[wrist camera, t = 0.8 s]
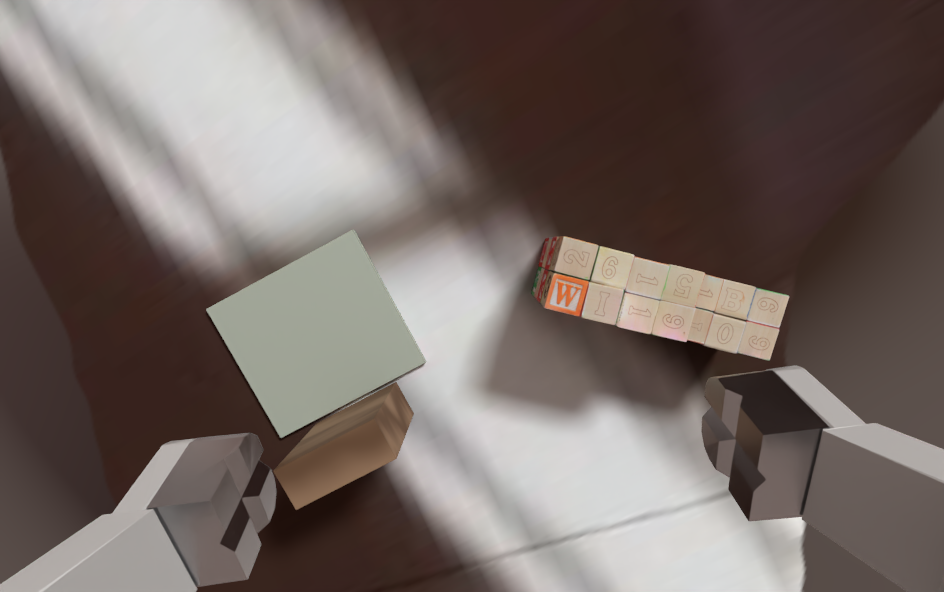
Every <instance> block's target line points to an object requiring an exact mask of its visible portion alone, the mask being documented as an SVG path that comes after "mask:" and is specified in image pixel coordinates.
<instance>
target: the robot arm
mask: <svg viewBox="0 0 944 592" xmlns="http://www.w3.org/2000/svg"><path fill="white" fill-rule="evenodd" d="M704 397H705V398H706V400H707V401H708V402H709V404H710V405H711V407H710V409H709V410H708V411H707V412H706V413H705V414H704V415H703V417H702V437H703V442H704V447H705V450H706V452H707V454H708V457H709V459H710V461H711V462H712V464H713V466H714V467H715V469H716V470H718V471H719V472H721V473H723V474H725V475H726V476H728V477H730V481H729V489H728V490H729V491H730V493H731V494H732V496H733V497H734V499H735V500H736V502H737V504H738V505H739V507H740V508H741V510H742V511H743V513H744V514H745V516H746V518H747V519H748V521H759V520H770V519H781V518H793V517H802V520H804V521H805V522H807V523H808V524H810V525H811V526H813V527H814V528H815V529H817V530H818V531H820V532H821V533H823V534H824V535H826V536H827V537H828V538H830V539H831V540H833V541H834V542H836V543H837V544H839V545H840V546H842V547H843V548H844V549H846V550H847V551H849V552H850V553H852V554H853V555H854V556H856V557H857V558H859V559H860V560H862V561H863V562H865V563H866V564H868V565H869V566H870V567H872V568H873V569H875V570H876V571H878V572H879V573H881V574H882V575H883V576H885V577H886V578H888V579H889V580H891V581H892V582H894V583H895V584H897V585H898V586H899V587H901V588H902V589H904V590H905V591H907V592H944V449H941V448H939V447H936V446H934V445H931V444H929V443H926V442H923V441H921V440H918V439H916V438H913V437H911V436H908V435H905V434H903V433H900V432H898V431H895V430H892V429H890V428H887V427H885V426H882V425H879V424H877V423H873V424H865V423H864V422H863V421H862V420H861V419H860V418H859V417H858V416H857V415H855V414H854V413H853V412H852V411H851V410H850V409H849V408H848V407H846V406H845V405H844V404H843V403H842V402H841V401H840V400H839V399H838V398H836V397H835V396H834V395H833V394H832V393H831V392H829V390H827V389H826V388H825V387H824V386H823V385H822V384H821V383H820V382H818V381H817V380H816V379H815V378H814V377H813V376H812V375H811V374H810V373H808V372H807V371H806V370H805V369H804V368H802V367H799V366H796V365H795V366H788V367H781V368H774V369H767V370H766V371H759V372H751V373H743V374H735V375H727V376H719V377H711V378H709V379H708V381H707V383H706V387H705V396H704ZM262 452H263V448H262V445H261V443H260V441H259V439H258V436H257V435H254V434H252V433H244V434H234V435H224V436H213V437H203V438H197V439H186V440H177V441H170V442H168V443H166V444H164V445H162V446H161V448H160V449H159V450H158V452H157V453H156V454H155V456H154V457H153V458H152V460H151V461H150V463H149V464H148V465H147V467H146V468H145V469H144V471H143V472H142V473H141V475H140V476H139V478H138V479H137V480H136V482H135V483H134V484H133V486H132V487H131V488H130V490H129V491H128V492H127V494H126V495H125V497H124V498H123V499H122V501H121V502H120V503H119V505H118V506H117V507H116V509H115V510H114V512H113V513H112V514H106V515H102V516H100V517H99V518H97V519H96V520H94V521H93V522H91V523H90V524H89V525H87V526H86V527H84V528H83V529H81V530H80V531H79V532H77V533H75V534H74V535H72V536H71V537H69V538H68V539H67V540H65V541H64V542H62V543H61V544H59V545H58V546H56V547H55V548H53V549H52V550H50V551H49V552H47V553H46V554H45V555H43V556H42V557H40V558H38V559H37V560H36V561H34V562H33V563H31V564H30V565H28V566H27V567H25V568H24V569H22V570H21V571H19V572H18V573H16V574H15V575H13V576H12V577H11V578H9V579H8V580H6V581H5V582H3V583H2V584H0V592H196V591H197V587H199V586H206V585H213V584H220V583H226V582H233V581H240V580H247V579H248V577H249V575H250V572H251V570H252V567H253V564H254V562H255V559H256V557H257V554H258V552H259V549H260V546H261V542H260V540H259V537H258V535H257V533H258V532H260V531H261V530H262V529H263V528H264V527H265V526H266V525H267V524H268V523H269V522H270V520H271V517H272V514H273V512H274V509H275V500H276V485H275V479H274V476H273V473H272V471H271V468H269V467H268V466H267V465H265V464H264V463H262V462H261V461H259V458H260V456H261V454H262Z"/></svg>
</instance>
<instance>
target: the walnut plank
mask: <svg viewBox="0 0 944 592" xmlns="http://www.w3.org/2000/svg"><path fill="white" fill-rule="evenodd" d="M413 414H414V413H413V411H412V410H411V408H410V406H409V404H408V402H407V401H406V399H405V397H404V395H403V393H402V392H401V390H400V388H399V386H398V384H397V383H396V382H395V383H393V384H391V385H389V386H388V387H386V388H384V389H382V390H380V391H378V392H376V393H374V394H372V395H370V396H368V397H366V398H365V399H363V400H361V401H359V402H357V403H355V404H353V405H351V406H349V407H347V408H345V409H343V410H342V411H340V412H338V413H336V414H334V415H332V416H330V417H328V418H326V419H324V420H322V421H320V422H319V423H317V424H316V425H315V426H314V427H313V428H312V429H311V430H310V431H309V432H308V433H307V435H306V436H305V437H304V438H303V439H302V440H301V441H300V442H299V443H298V444H297V446H296V447H295V448H294V449H293V450H292V451H291V452H290V453H289V454H288V455H287V456H286V458H285V459H284V460H283V461H282V462H281V463H280V464H279V465H278V466H277V467H276V468H275V470H274V473H275V475H276V477H277V478H278V480H279V482H280V483H281V485H282V487H283V489H284V490H285V492H286V494H287V495H288V497H289V499H290V501H291V502H292V504H293V506H294V507H295V509H296V510H297V509H299V508H301V507H303V506H305V505H307V504H309V503H311V502H313V501H315V500H317V499H319V498H321V497H323V496H325V495H327V494H328V493H330V492H332V491H334V490H336V489H338V488H340V487H342V486H344V485H346V484H348V483H350V482H352V481H354V480H356V479H358V478H360V477H362V476H364V475H366V474H368V473H369V472H371V471H373V470H375V469H377V468H379V467H381V466H383V465H385V464H387V463H389V462H391V461H393V460H395V459H396V458H397V456H398V453H399V451H400V448H401V445H402V443H403V440H404V438H405V435H406V432H407V430H408V427H409V425H410V422H411V419H412V417H413Z"/></svg>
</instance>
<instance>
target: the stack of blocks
mask: <svg viewBox="0 0 944 592" xmlns="http://www.w3.org/2000/svg"><path fill="white" fill-rule="evenodd" d="M531 294H532V295H533V296H534V297H535V298H536V299H537V301H538V302H539V303H540V304H542V306H543V307H544V308H546V309H549V310H554V311H558V312H562V313H566V314H570V315H574V316H580V317H581V318H584V319H588V320H593V321H597V322H602V323H606V324H611V325H615V326H616V327H619V328H623V329H628V330H632V331H637V332H641V333H645V334H652V335H656V336H660V337H665V338H669V339H673V340H678V341H682V342H687V340H688V341H692V342H696V343H700V344H702V345H704V346H707V347H711V348H715V349H718V350H722V351H727V352H731V353H741V354H745V355H748V356H752V357H756V358H760V359H764V360H770V357H771V354H772V351H773V348H774V345H775V342H776V339H777V336H778V333H779V327H780V324H781V321H782V318H783V315H784V312H785V308H786V305H787V302H788V299H789V296H788V295H784V294H780V293H776V292H772V291H768V290H764V289H759V288H756V287H754V286H750V285H746V284H741V283H737V282H733V281H729V280H725V279H722V278H717V277H714V276H709V275H705V273H704V272H700V271H696V270H692V269H688V268H683V267H679V266H675V265H671V264H663V263H659V262H655V261H650V260H646V259H642V258H638V257H635V256H634V255H633V254H629V253H625V252H621V251H617V250H613V249H609V248H606V247H601V246H598V245H596V244H592V243H588V242H584V241H581V240H577V239H573V238H569V237H565V236H563V237H553V238H546V239H545V243H544V247H543V250H542V254H541V258H540V262H539V267H538V271H537V274H536V278H535V281H534V285H533V289H532V292H531Z"/></svg>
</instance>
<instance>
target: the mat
mask: <svg viewBox="0 0 944 592" xmlns="http://www.w3.org/2000/svg"><path fill="white" fill-rule="evenodd" d="M206 310H207V312H208V314H209V315H210V317H211V319H212V321H213V322H214V324H215V326H216V328H217V329H218V331H219V333H220V334H221V336H222V338H223V340H224V341H225V343H226V345H227V346H228V348H229V350H230V352H231V353H232V355H233V357H234V358H235V360H236V362H237V364H238V365H239V367H240V369H241V371H242V372H243V374H244V376H245V377H246V379H247V381H248V383H249V384H250V386H251V388H252V389H253V391H254V393H255V395H256V396H257V398H258V400H259V402H260V403H261V405H262V407H263V408H264V410H265V412H266V414H267V415H268V417H269V419H270V420H271V422H272V424H273V426H274V427H275V429H276V431H277V433H278V434H279V436H280V438H282V437H284V436H286V435H288V434H290V433H292V432H293V431H295V430H297V429H299V428H301V427H303V426H305V425H307V424H309V423H311V422H313V421H315V420H316V419H318V418H320V417H322V416H324V415H326V414H328V413H330V412H332V411H334V410H336V409H338V408H339V407H341V406H343V405H345V404H347V403H349V402H351V401H353V400H355V399H357V398H359V397H361V396H362V395H364V394H366V393H368V392H370V391H372V390H374V389H376V388H378V387H380V386H382V385H384V384H385V383H387V382H389V381H391V380H393V379H395V378H397V377H399V376H401V375H403V374H405V373H407V372H408V371H410V370H412V369H414V368H416V367H418V366H420V365H422V364H424V363H426V360H425V358H424V356H423V354H422V353H421V351H420V349H419V347H418V345H417V343H416V342H415V340H414V338H413V336H412V334H411V333H410V331H409V329H408V327H407V325H406V323H405V322H404V320H403V318H402V316H401V314H400V312H399V311H398V309H397V307H396V305H395V303H394V301H393V300H392V298H391V296H390V294H389V292H388V290H387V289H386V287H385V285H384V283H383V281H382V279H381V278H380V276H379V274H378V272H377V270H376V269H375V267H374V265H373V263H372V261H371V259H370V258H369V256H368V254H367V252H366V250H365V248H364V247H363V245H362V243H361V241H360V239H359V237H358V236H357V234H356V232H355V230H351V231H349V232H348V233H346V234H344V235H342V236H340V237H338V238H337V239H335V240H333V241H331V242H329V243H327V244H325V245H324V246H322V247H320V248H318V249H316V250H314V251H313V252H311V253H309V254H307V255H305V256H303V257H302V258H300V259H298V260H296V261H294V262H292V263H290V264H289V265H287V266H285V267H283V268H281V269H279V270H278V271H276V272H274V273H272V274H270V275H268V276H267V277H265V278H263V279H261V280H259V281H257V282H256V283H254V284H252V285H250V286H248V287H246V288H244V289H243V290H241V291H239V292H237V293H235V294H233V295H232V296H230V297H228V298H226V299H224V300H222V301H221V302H219V303H217V304H215V305H213V306H211V307H209V308H208V309H206Z"/></svg>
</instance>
